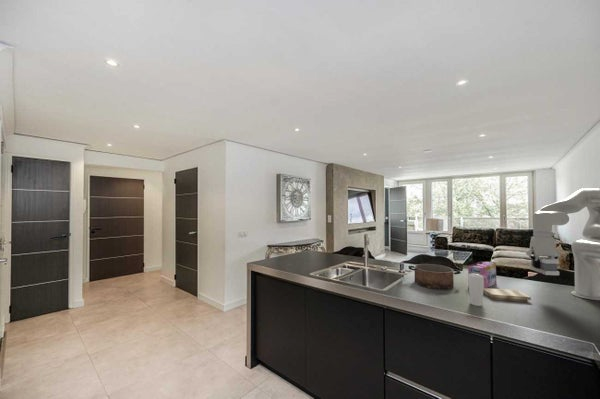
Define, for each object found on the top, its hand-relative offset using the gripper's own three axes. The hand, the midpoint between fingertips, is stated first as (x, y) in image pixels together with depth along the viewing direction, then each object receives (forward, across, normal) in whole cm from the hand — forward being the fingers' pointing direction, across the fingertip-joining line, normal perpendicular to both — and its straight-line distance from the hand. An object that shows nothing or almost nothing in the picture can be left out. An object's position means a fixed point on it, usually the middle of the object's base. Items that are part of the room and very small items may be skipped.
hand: (543, 267), depth 138 cm
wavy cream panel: (+17, +19, 0) cm, 25 cm away
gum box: (+18, +20, -21) cm, 34 cm away
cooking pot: (+17, +50, -17) cm, 56 cm away
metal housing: (+2, 0, 0) cm, 2 cm away
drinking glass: (+17, +39, +14) cm, 45 cm away
